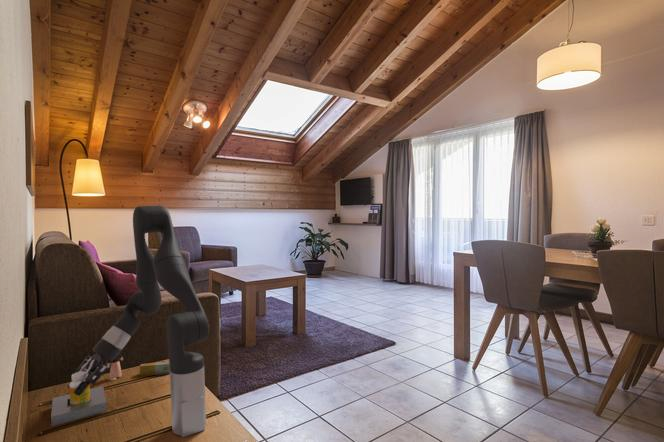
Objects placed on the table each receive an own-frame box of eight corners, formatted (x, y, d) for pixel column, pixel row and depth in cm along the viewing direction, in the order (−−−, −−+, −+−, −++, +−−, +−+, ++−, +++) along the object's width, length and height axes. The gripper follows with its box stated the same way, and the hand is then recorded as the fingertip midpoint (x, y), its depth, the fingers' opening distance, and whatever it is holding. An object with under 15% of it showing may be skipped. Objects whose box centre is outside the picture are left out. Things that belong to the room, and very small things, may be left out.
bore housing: (106, 411, 120) (106, 402, 120) (51, 426, 112) (51, 416, 112) (103, 394, 131) (103, 386, 131) (53, 407, 123) (52, 398, 123)
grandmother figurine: (115, 382, 141) (114, 348, 140) (105, 382, 141) (103, 348, 141) (126, 373, 148) (125, 341, 148) (117, 373, 149) (115, 341, 148)
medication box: (173, 371, 150) (173, 361, 150) (171, 374, 147) (171, 363, 147) (141, 373, 149) (141, 363, 148) (139, 376, 146) (138, 366, 146)
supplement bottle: (80, 408, 118) (78, 378, 118) (66, 407, 119) (64, 377, 119) (94, 400, 123) (93, 370, 123) (80, 399, 124) (79, 369, 124)
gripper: (95, 333, 131) (56, 380, 122) (111, 341, 122) (69, 393, 113) (113, 344, 135) (76, 390, 126) (129, 353, 126) (90, 403, 117)
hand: (73, 391), depth 120 cm, fingers closed on supplement bottle, 5 cm apart
